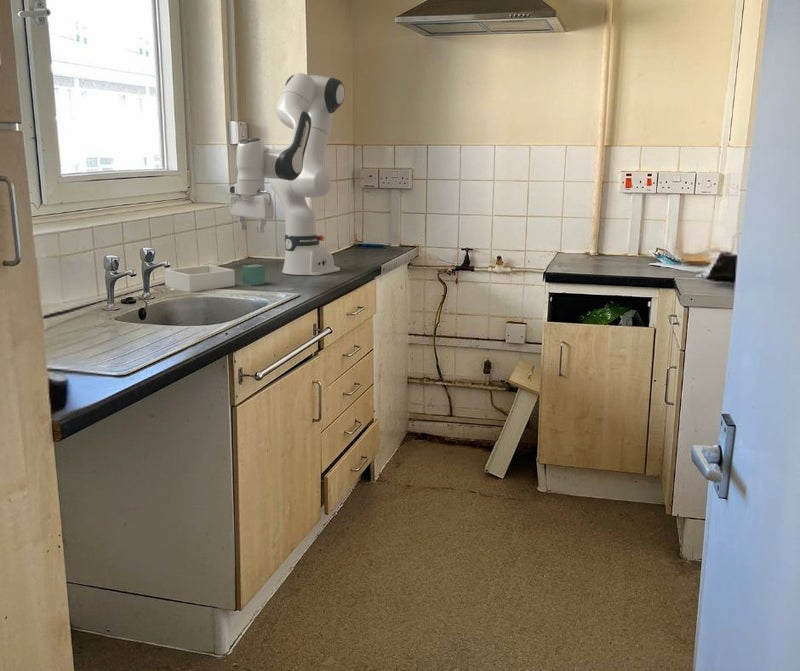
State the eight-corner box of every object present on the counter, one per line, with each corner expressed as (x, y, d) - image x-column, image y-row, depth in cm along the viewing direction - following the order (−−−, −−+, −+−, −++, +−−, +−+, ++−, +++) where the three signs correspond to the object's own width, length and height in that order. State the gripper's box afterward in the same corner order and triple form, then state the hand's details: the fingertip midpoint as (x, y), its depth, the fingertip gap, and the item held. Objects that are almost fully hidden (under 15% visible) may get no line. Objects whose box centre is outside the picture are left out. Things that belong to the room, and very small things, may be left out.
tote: (210, 282, 274) (209, 264, 273) (235, 287, 264) (234, 270, 263) (165, 287, 262) (164, 269, 261) (190, 294, 252) (189, 275, 251)
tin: (257, 284, 271) (256, 264, 270) (265, 286, 268) (264, 265, 267) (242, 286, 267) (241, 265, 266) (250, 288, 264) (249, 267, 262)
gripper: (278, 190, 255) (278, 233, 258) (241, 187, 269) (242, 228, 272) (262, 190, 251) (263, 234, 254) (225, 187, 265) (226, 229, 268)
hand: (252, 231), depth 263 cm, fingers open, 8 cm apart
